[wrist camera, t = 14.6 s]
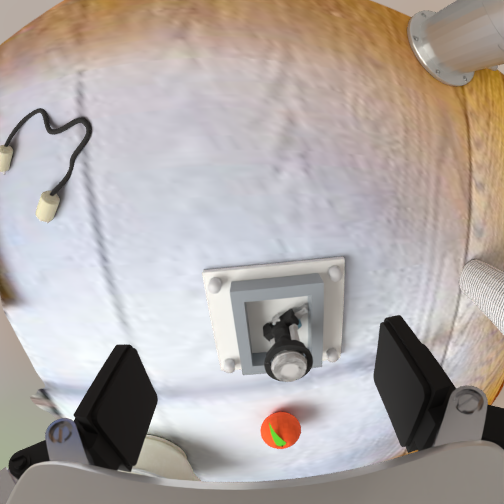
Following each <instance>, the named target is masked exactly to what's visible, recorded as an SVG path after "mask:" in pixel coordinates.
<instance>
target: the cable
mask: <svg viewBox="0 0 504 504" xmlns="http://www.w3.org/2000/svg"><path fill="white" fill-rule="evenodd" d="M37 113H41V114H42V116H43V119H44V124H45V127H46V130H47V132H48V133H49V134H59V133H61V132H63V131H65V130H67V129H68V128H70V127H71V126H73V125H75V124H77V123H82V124H84V126H85V127H86V135H85V137H84V139H83V140H82V142H81V143H80V145H79V146H78V147H77V148H76V150H75V151H74V153H73V154H72V156H71V159H70V167H69V170H68V172H67V174H66V176H65V177H64V178H63V180H62V181H61V182H60V183H59V184H58V185H57V186H56V187H55V188H54V189H53V190H52V191H45V192H43V193H42V194H41V197H40V200H39V203H38V206H37V209H36V216H37V218H38V219H39V220H40V221H44V222H47V223H49V222H50V221H52V220H53V218H54V215H55V212H56V210H57V207H58V204H59V202H60V199H59V197H58V195H57V194H56V193H57V192H58V191H59V190H60V189H61V188H62V187H63V186H64V184H65V183H66V182H67V181H68V179H69V178H70V176H71V173H72V170H73V167H74V161H75V159H76V157H77V155H78V154H79V152H80V151H81V150H82V148H83V147H84V146H85V145H86V143H87V142H88V140H89V138H90V135H91V125H90V123H89V122H88V121H87V120H86V119H85V118H77V119H74V120H72V121H71V122H69V123H67V124H66V125H64V126H63V127H61V128H58V129H51V127H50V124H49V120H48V116H47V113H46V112H45V110H43V109H41V108H40V109H36V110H34V111H32V112H31V113H29V114H28V115H27V116H25V117H24V118H23V119H22V120H21V121H20V122H19V123H18V124H17V126H16V127H15V128H14V129H13V131H12V132H11V134H10V135H9V137H8V139H7V141H6V143H5V145H1V146H0V172H3V174H6V171H8V170H9V167H10V162H11V158H12V154H13V149H12V148H11V147H10V146H8V145H9V143H10V141H11V139H12V138H13V136H14V135H15V133H16V132H17V130H18V129H19V128H20V127H21V126H22V125H23V124H24V123H25V122H26V121H27V120H28V119H29V118H31V117H32V116H33V115H35V114H37Z"/></svg>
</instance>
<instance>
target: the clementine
mask: <svg viewBox="0 0 504 504" xmlns="http://www.w3.org/2000/svg"><path fill="white" fill-rule="evenodd" d="M300 434H301V426H300V423H299V421H298V420H297V419H296V417H294V416H293V415H291V414H289V413H286V412H277V413H273V414H271V415H270V416H268V417H267V418H266V419H265V420H264V421H263V423H262V426H261V436H262V439H263V440H264V442H265V443H266V444H267V445H269V446H270V447H273V448H277V449H284V448H288V447H290V446H292V445H293V444H295V442H296V441H297V440H298V439H299V436H300Z"/></svg>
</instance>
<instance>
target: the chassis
mask: <svg viewBox="0 0 504 504" xmlns="http://www.w3.org/2000/svg"><path fill="white" fill-rule="evenodd" d="M202 275H203V281H204V287H205V292H206V298H207V303H208V309H209V314H210V319H211V324H212V329H213V334H214V339H215V344H216V349H217V353H218V358H219V363H220V367H221V370H224V371H225V372H227V373H232V372H234V370H240V369H242V374H243V375H251V374H264V373H266V371H265V367H264V361H265V358H266V353H267V352H268V351H269V350H270V348H271V347H272V345H271V344H270V342H269V341H268V340H267V339H266V338H265V337H264V336H263V326H264V325H265V324H266V323H269V324H270V323H272V317H273V316H275V315H276V314H279V317H280V316H281V315H282V314H284V313H285V312H286V311H288V310H289V309H292V310H294V309H296V308H299V307H300V306H301V305H303V304H304V305H305V306H306V307H307V308H306V309H307V310H308V312H307V313H306V314H304V315H303V316H302V318H301V319H300V321H301V324H302V326H301V327H300V328H299V329H298V330H297V331H298V335H299V339H300V342H302V343H304V345H305V347H306V348H307V349H308V350H309V351H310V352H311V354H312V357H313V365H312V368H317V367H322V361H325V360H328V361H329V362H335V361H337V360H338V358H340V354H341V341H342V326H343V307H344V275H345V259H344V258H343V256H341V257H331V258H322V259H312V260H302V261H292V262H282V263H272V264H262V265H252V266H241V267H230V268H220V269H209V270H203V272H202ZM303 308H304V307H301V309H303ZM304 312H305V310H304V311H303V312H302V313H304ZM276 317H277V316H276ZM276 317H275V318H276ZM275 318H274V319H275ZM303 355H304V357H305V356H306V355H305V354H304V353H303ZM270 362H271V364H272V359H271V361H270Z"/></svg>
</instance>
